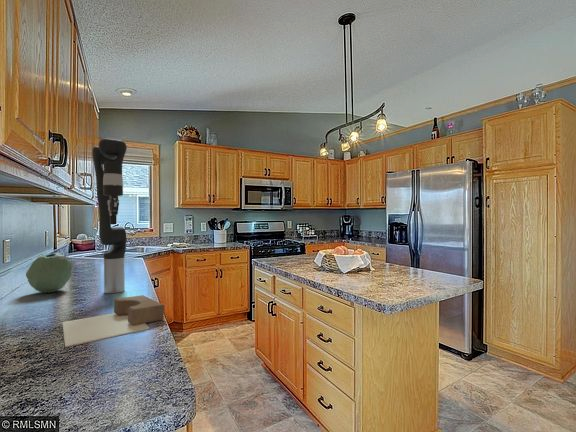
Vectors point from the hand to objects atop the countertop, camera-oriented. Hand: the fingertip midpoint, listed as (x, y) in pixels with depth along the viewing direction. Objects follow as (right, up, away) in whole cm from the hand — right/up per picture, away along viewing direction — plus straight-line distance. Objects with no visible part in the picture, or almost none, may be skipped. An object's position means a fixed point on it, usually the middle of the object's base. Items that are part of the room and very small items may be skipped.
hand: (113, 224), depth 133 cm
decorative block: (+13, -32, -11) cm, 36 cm away
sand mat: (+13, -35, -27) cm, 46 cm away
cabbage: (-45, -36, +23) cm, 62 cm away
